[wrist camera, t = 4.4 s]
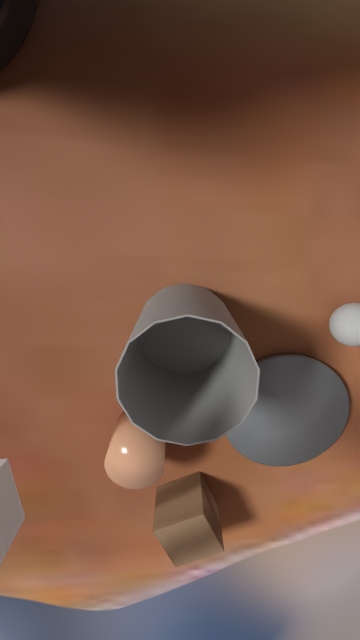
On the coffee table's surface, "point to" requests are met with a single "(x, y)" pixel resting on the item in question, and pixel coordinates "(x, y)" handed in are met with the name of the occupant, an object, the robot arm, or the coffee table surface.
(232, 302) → the coffee table surface
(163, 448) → the peach capsule shape
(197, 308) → the cup
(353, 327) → the grey ball
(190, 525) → the walnut block
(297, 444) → the coaster
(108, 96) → the coffee table surface
